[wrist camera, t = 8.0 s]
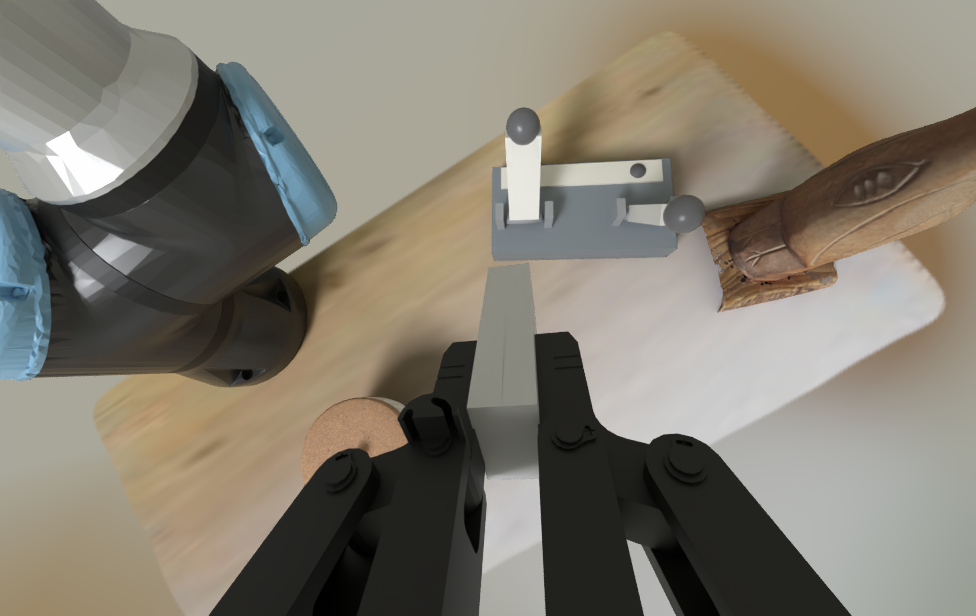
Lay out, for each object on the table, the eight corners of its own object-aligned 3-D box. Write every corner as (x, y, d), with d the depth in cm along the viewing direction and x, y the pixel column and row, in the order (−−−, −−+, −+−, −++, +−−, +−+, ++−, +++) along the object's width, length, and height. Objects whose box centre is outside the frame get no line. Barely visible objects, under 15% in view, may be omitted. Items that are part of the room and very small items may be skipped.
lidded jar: (373, 374, 40) (326, 378, 31) (454, 419, 38) (431, 437, 29) (327, 461, 39) (265, 492, 30) (408, 511, 37) (370, 561, 28)
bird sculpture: (679, 221, 39) (1263, -332, 8) (788, 189, 38) (1982, -605, 7) (715, 316, 37) (1683, 93, 6) (830, 286, 36) (2797, -189, 5)
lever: (657, 225, 36) (716, 234, 25) (621, 227, 36) (663, 235, 25) (660, 197, 35) (721, 193, 24) (623, 199, 36) (667, 195, 25)
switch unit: (665, 256, 38) (689, 239, 33) (494, 260, 40) (489, 244, 35) (659, 173, 40) (681, 142, 34) (494, 180, 42) (490, 153, 36)
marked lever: (541, 230, 36) (546, 116, 27) (507, 231, 37) (499, 119, 27) (540, 212, 38) (545, 99, 28) (507, 214, 38) (501, 102, 29)
